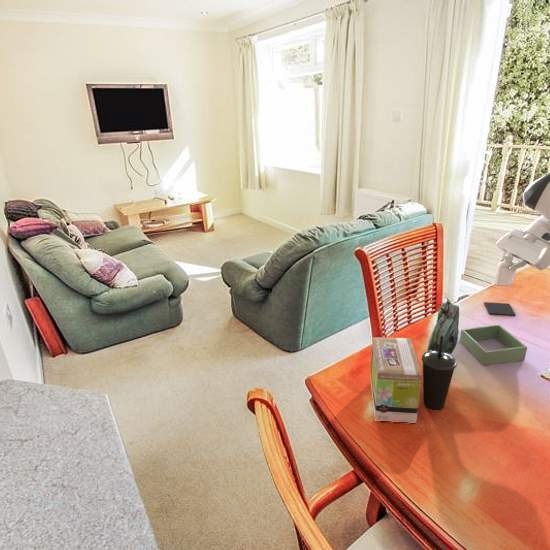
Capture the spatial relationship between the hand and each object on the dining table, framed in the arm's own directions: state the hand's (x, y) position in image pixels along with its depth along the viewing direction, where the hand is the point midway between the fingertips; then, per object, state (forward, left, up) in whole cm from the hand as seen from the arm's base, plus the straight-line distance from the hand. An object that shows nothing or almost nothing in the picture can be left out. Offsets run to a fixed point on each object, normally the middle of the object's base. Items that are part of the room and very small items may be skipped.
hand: (505, 267), depth 125 cm
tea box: (+35, +52, -17) cm, 65 cm away
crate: (+7, +25, -16) cm, 31 cm away
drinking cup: (+25, +51, -17) cm, 60 cm away
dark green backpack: (+22, +36, -17) cm, 46 cm away
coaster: (-1, -1, -16) cm, 16 cm away
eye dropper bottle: (0, 0, -7) cm, 7 cm away
